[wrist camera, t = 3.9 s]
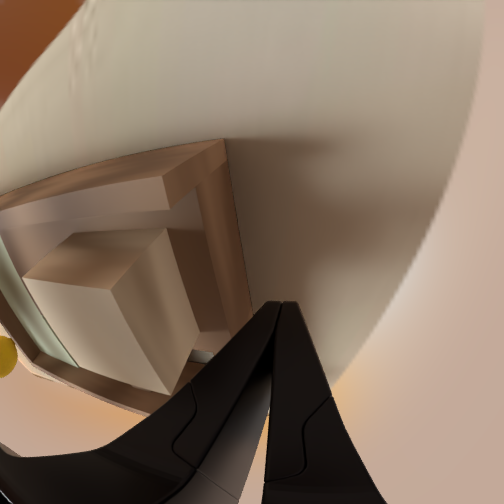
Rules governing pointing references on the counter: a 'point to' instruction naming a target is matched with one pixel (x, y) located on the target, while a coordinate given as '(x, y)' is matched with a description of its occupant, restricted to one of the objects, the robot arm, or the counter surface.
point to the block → (118, 305)
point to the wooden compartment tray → (127, 218)
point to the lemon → (7, 355)
